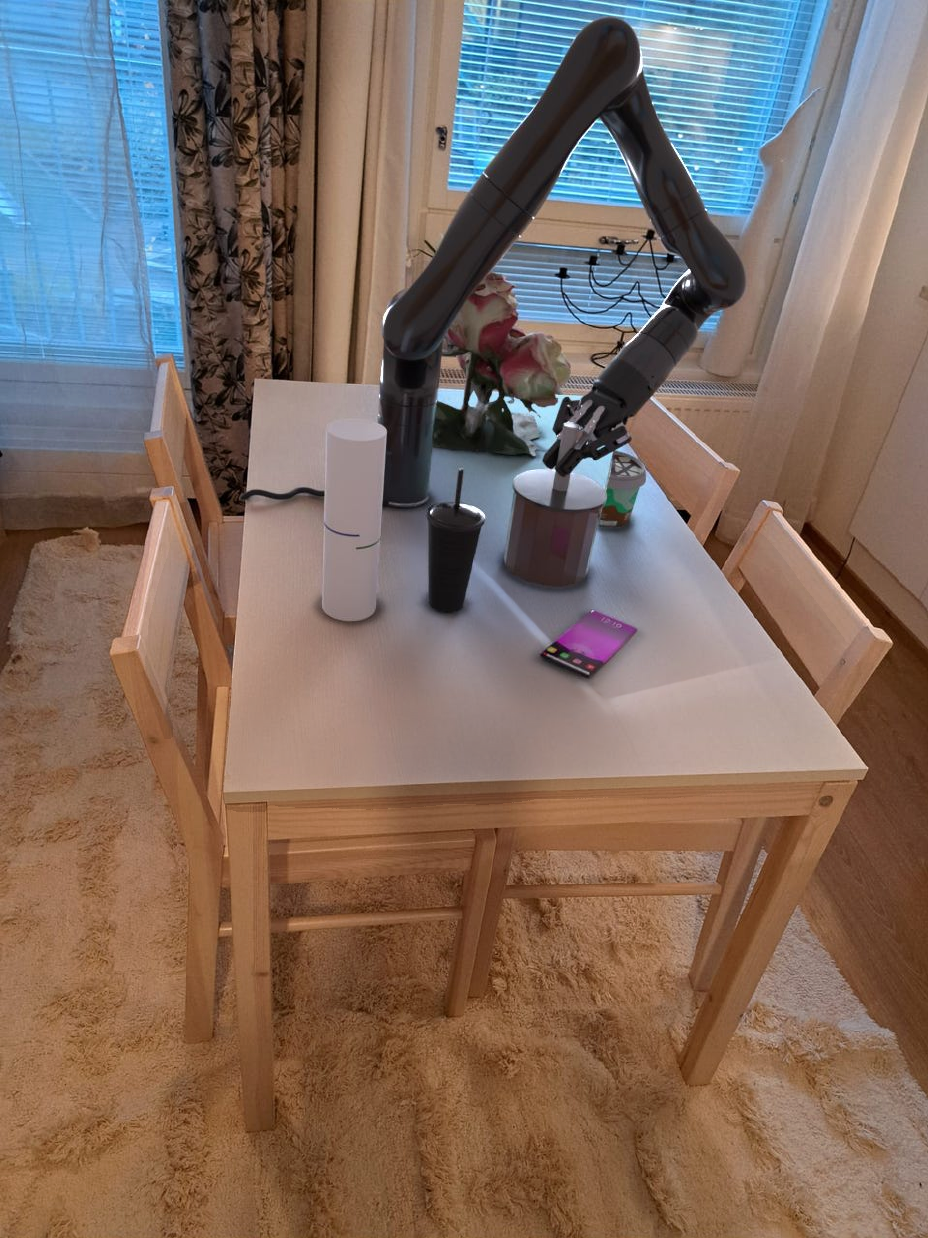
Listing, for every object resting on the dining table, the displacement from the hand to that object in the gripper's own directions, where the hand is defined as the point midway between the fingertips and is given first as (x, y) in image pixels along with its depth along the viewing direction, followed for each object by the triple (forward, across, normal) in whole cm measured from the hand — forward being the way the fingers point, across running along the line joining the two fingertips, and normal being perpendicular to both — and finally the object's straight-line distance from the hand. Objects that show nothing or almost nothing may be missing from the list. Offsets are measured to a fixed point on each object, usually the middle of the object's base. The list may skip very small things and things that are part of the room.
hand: (552, 468), depth 122 cm
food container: (-5, -8, +29) cm, 30 cm away
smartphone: (+16, +19, +8) cm, 26 cm away
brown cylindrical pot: (+10, 0, +13) cm, 17 cm away
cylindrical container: (+33, -3, -10) cm, 34 cm away
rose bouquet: (-7, -50, +30) cm, 59 cm away
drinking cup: (+24, +2, -1) cm, 24 cm away
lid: (+1, 0, +4) cm, 4 cm away
